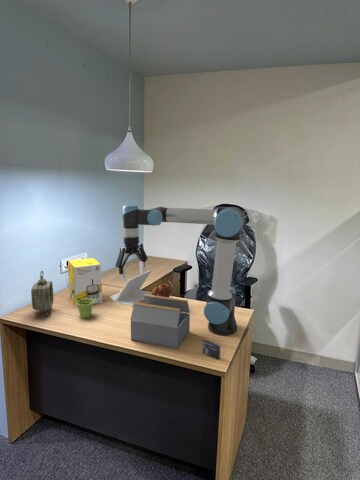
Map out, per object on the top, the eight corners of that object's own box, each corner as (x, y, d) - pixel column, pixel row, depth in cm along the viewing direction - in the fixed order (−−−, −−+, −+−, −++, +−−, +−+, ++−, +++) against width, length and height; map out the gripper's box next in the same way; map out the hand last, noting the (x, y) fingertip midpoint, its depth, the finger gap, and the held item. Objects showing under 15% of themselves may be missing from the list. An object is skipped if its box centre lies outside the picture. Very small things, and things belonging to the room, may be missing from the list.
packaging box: (75, 307, 200) (73, 267, 195) (70, 298, 214) (68, 261, 209) (102, 302, 208) (100, 264, 203) (95, 294, 222) (93, 258, 217)
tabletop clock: (50, 317, 185) (47, 274, 180) (32, 318, 183) (29, 275, 179) (54, 307, 199) (51, 267, 194) (38, 308, 197) (34, 268, 192)
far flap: (189, 313, 168) (190, 311, 169) (186, 302, 162) (187, 300, 163) (147, 306, 176) (147, 304, 176) (143, 295, 170) (144, 294, 171)
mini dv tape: (202, 353, 150) (202, 341, 149) (204, 352, 151) (204, 340, 150) (218, 359, 145) (218, 347, 144) (219, 358, 146) (220, 345, 145)
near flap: (180, 309, 154) (179, 308, 153) (177, 328, 151) (176, 328, 150) (134, 302, 161) (133, 301, 160) (131, 320, 159) (129, 320, 158)
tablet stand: (154, 294, 224) (154, 269, 221) (133, 306, 203) (132, 279, 199) (133, 289, 233) (132, 266, 229) (109, 301, 211) (108, 275, 208)
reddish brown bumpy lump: (164, 304, 206) (164, 280, 203) (174, 307, 201) (174, 283, 198) (147, 311, 195) (147, 286, 192) (157, 315, 190) (157, 290, 187)
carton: (189, 332, 170) (189, 313, 168) (177, 349, 153) (177, 329, 151) (146, 324, 178) (146, 307, 176) (131, 340, 161) (130, 321, 159)
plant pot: (97, 314, 190) (97, 300, 188) (86, 320, 182) (85, 306, 180) (85, 311, 194) (85, 297, 192) (73, 317, 186) (72, 302, 184)
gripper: (143, 232, 178) (144, 270, 182) (106, 238, 159) (108, 281, 163) (153, 233, 174) (154, 272, 178) (117, 240, 154) (119, 284, 158)
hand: (132, 276), depth 170 cm, fingers open, 13 cm apart
